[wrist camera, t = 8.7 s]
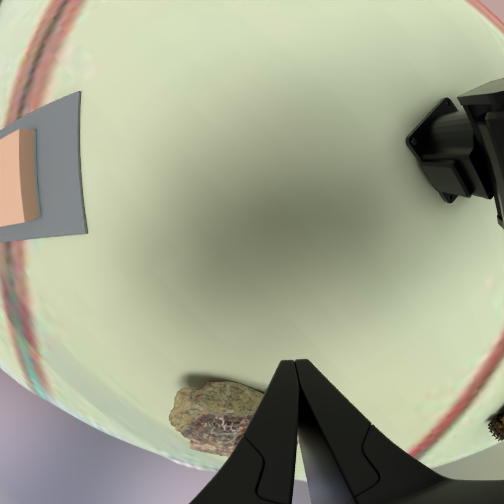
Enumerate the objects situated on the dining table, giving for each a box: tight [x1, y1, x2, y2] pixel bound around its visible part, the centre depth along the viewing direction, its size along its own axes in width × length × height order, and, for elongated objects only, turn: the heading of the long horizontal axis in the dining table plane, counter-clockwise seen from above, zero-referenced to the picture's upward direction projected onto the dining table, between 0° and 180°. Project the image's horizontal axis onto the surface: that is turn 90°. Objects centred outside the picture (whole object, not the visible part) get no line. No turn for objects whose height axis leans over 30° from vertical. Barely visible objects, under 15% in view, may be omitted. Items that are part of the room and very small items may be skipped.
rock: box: [169, 381, 299, 456], centre depth 21 cm, size 7×11×10 cm
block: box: [0, 129, 41, 227], centre depth 16 cm, size 2×8×10 cm
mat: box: [0, 91, 88, 242], centre depth 18 cm, size 20×12×1 cm, turn 92°
